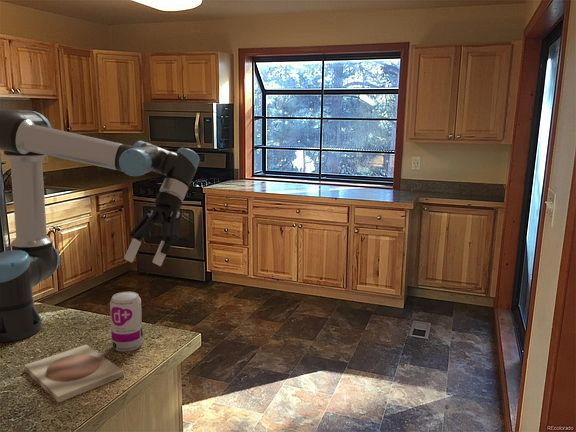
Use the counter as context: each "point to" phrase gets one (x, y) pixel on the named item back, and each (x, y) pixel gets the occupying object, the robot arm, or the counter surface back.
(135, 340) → the supplement can
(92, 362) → the mount board
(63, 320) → the counter surface
